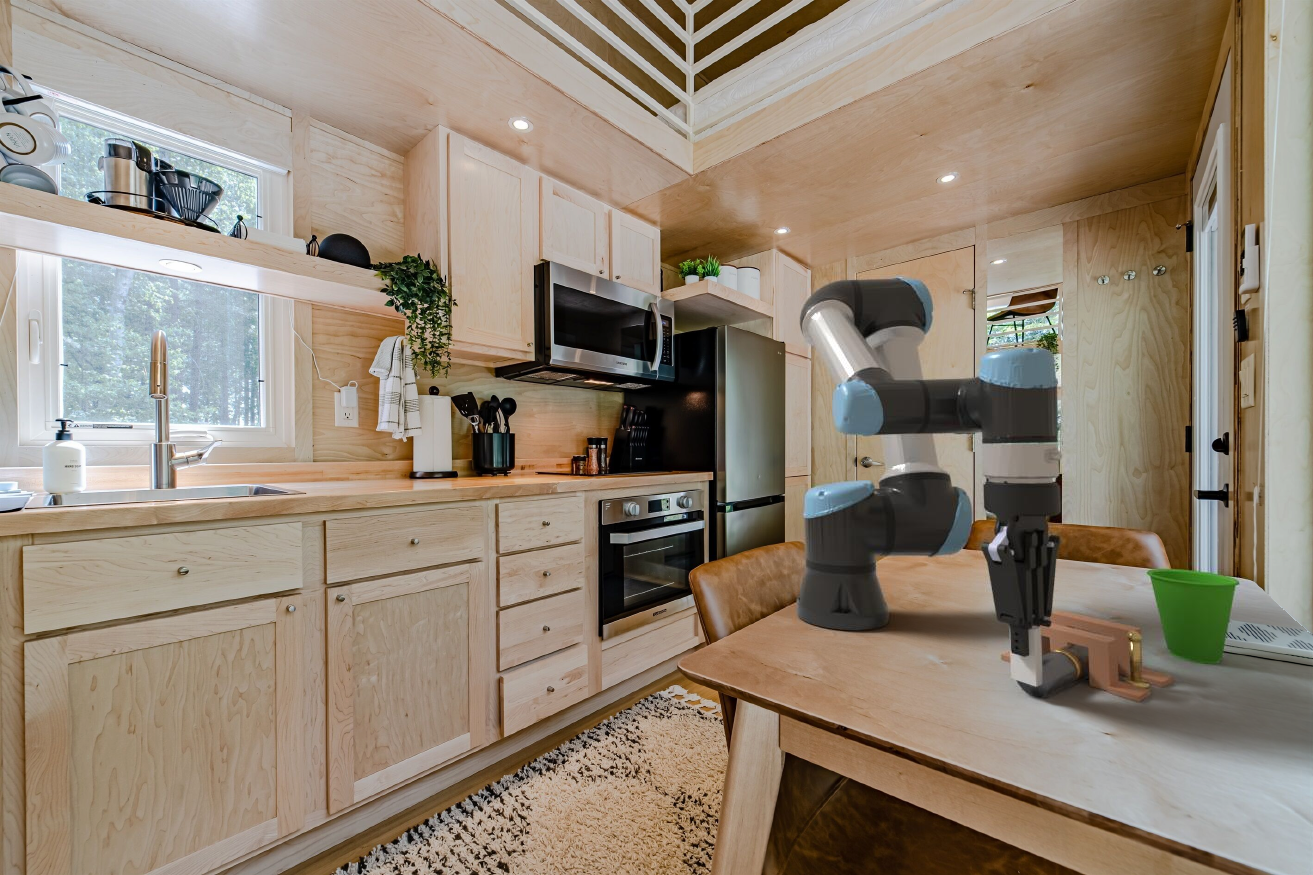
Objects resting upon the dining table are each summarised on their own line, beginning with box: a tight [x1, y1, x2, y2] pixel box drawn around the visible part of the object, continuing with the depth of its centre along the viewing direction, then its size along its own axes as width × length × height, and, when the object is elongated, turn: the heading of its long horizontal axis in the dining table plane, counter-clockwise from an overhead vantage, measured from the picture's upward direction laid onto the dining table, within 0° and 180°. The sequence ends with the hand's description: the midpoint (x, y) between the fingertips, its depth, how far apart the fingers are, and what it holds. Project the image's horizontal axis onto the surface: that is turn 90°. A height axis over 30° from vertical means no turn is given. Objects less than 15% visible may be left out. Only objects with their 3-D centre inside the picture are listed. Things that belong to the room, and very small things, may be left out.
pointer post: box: [1122, 631, 1151, 690], centre depth 65 cm, size 2×2×6 cm
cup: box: [1146, 568, 1240, 665], centre depth 74 cm, size 9×9×11 cm
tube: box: [1016, 643, 1090, 699], centre depth 67 cm, size 16×4×4 cm, turn 119°
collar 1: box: [1000, 623, 1151, 703], centre depth 68 cm, size 15×3×6 cm, turn 30°
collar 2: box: [1049, 609, 1174, 688], centre depth 72 cm, size 15×3×6 cm, turn 30°
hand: (1026, 680), depth 63 cm, fingers closed
